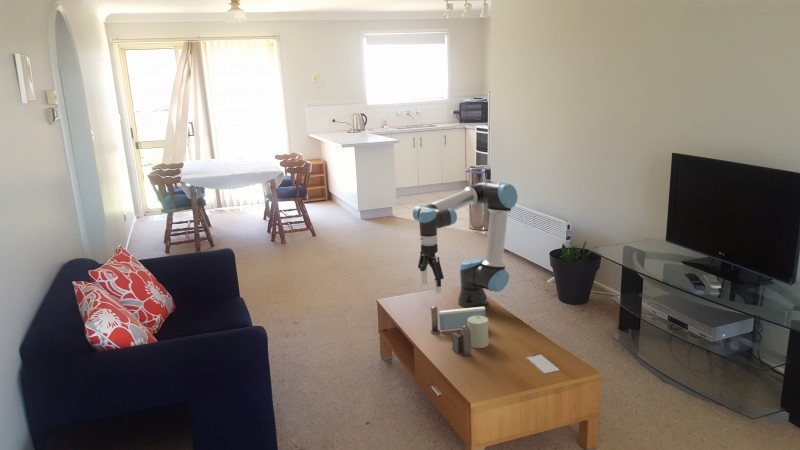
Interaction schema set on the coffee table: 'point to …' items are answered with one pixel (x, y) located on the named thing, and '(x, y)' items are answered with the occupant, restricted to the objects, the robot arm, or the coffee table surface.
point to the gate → (458, 317)
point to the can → (478, 331)
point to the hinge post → (434, 321)
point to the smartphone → (542, 364)
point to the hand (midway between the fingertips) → (431, 288)
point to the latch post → (462, 341)
